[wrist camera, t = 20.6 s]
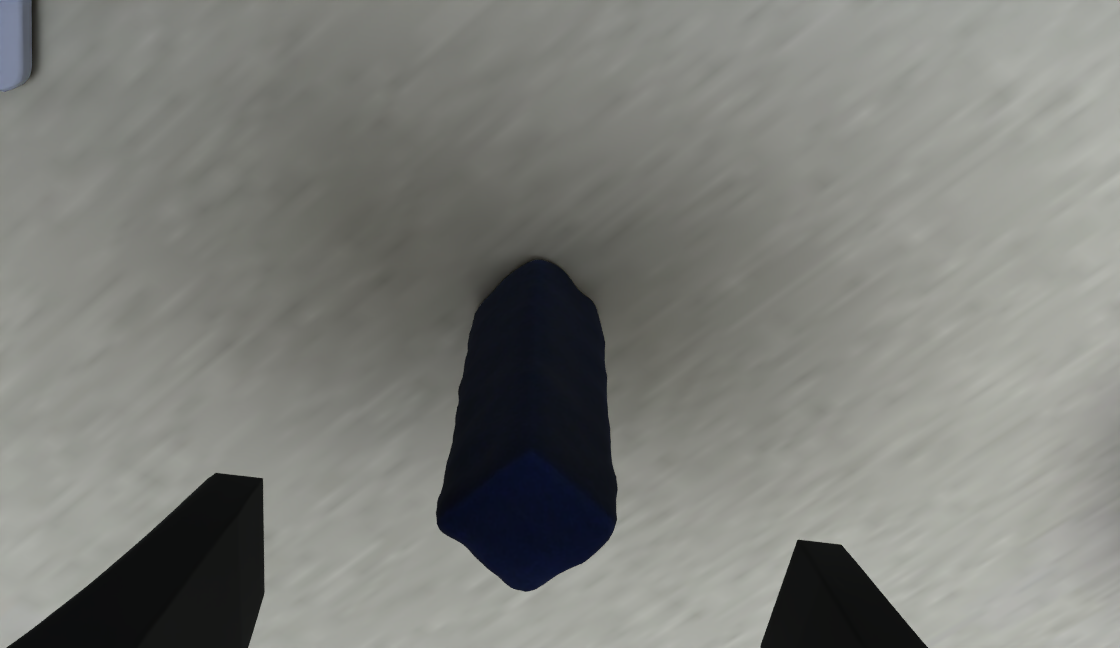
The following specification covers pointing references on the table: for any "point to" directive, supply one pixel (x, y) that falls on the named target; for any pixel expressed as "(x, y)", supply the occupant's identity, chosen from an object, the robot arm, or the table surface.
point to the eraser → (532, 432)
